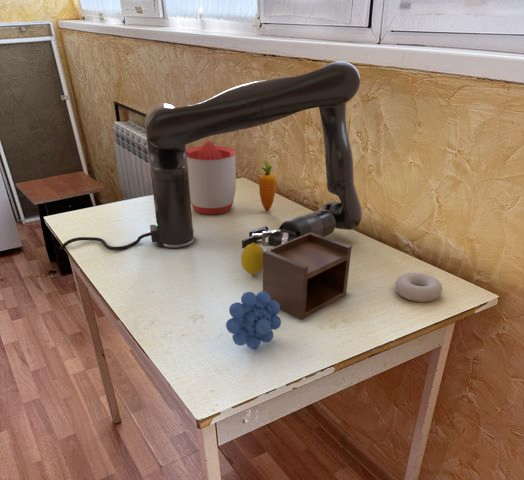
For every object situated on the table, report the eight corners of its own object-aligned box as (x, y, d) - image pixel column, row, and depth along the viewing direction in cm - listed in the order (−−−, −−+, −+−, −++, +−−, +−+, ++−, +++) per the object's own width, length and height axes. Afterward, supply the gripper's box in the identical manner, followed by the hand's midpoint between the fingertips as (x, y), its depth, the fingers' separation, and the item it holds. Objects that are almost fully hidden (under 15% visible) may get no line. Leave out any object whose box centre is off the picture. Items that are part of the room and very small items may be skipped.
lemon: (264, 280, 115) (265, 248, 110) (241, 280, 115) (240, 247, 110) (265, 270, 119) (265, 238, 114) (242, 269, 119) (241, 238, 115)
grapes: (241, 369, 87) (239, 310, 80) (221, 351, 91) (217, 293, 84) (293, 348, 92) (296, 291, 85) (272, 332, 97) (273, 276, 90)
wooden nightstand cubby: (301, 320, 100) (304, 268, 94) (262, 301, 106) (262, 251, 100) (346, 295, 109) (351, 246, 102) (307, 279, 115) (310, 231, 109)
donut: (439, 308, 105) (441, 286, 112) (442, 294, 103) (444, 273, 110) (391, 300, 107) (396, 280, 115) (393, 286, 105) (399, 266, 113)
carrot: (275, 214, 150) (276, 163, 142) (258, 214, 150) (259, 163, 142) (275, 209, 154) (276, 159, 146) (259, 209, 154) (259, 159, 146)
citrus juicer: (182, 201, 160) (176, 135, 148) (235, 200, 161) (234, 134, 150) (180, 218, 147) (174, 148, 136) (239, 216, 149) (237, 146, 137)
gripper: (281, 209, 125) (234, 226, 116) (325, 224, 117) (278, 243, 108) (280, 238, 130) (234, 256, 120) (322, 254, 121) (277, 274, 112)
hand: (255, 250), depth 114 cm, fingers open, 8 cm apart
